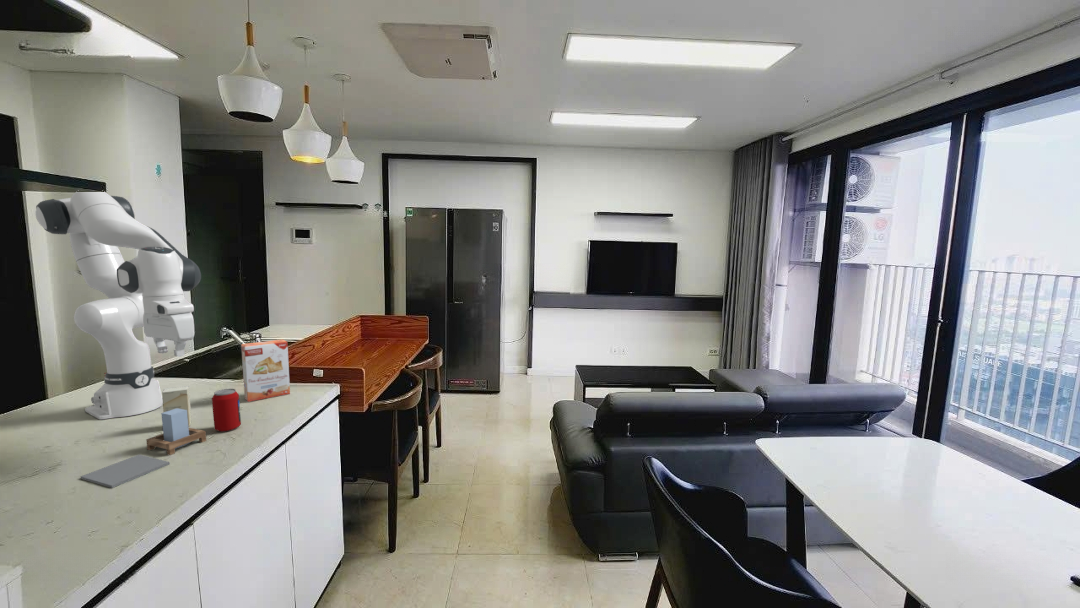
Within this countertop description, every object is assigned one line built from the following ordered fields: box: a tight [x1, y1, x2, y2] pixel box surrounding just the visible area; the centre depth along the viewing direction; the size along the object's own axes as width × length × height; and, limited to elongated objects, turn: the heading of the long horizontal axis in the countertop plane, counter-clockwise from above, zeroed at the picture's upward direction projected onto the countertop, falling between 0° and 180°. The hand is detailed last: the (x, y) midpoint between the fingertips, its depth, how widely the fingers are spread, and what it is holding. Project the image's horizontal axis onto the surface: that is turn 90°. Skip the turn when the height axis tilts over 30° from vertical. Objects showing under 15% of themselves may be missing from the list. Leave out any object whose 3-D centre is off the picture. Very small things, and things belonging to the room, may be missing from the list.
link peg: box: [160, 408, 191, 450], centre depth 123 cm, size 4×4×10 cm
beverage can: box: [211, 388, 242, 433], centre depth 134 cm, size 7×7×12 cm
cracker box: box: [240, 339, 291, 403], centre depth 163 cm, size 14×6×21 cm, turn 134°
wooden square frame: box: [145, 427, 207, 456], centre depth 123 cm, size 9×9×3 cm
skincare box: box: [161, 385, 192, 428], centre depth 136 cm, size 6×4×12 cm
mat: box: [80, 454, 170, 489], centre depth 109 cm, size 12×12×1 cm
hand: (171, 354), depth 122 cm, fingers open, 8 cm apart
